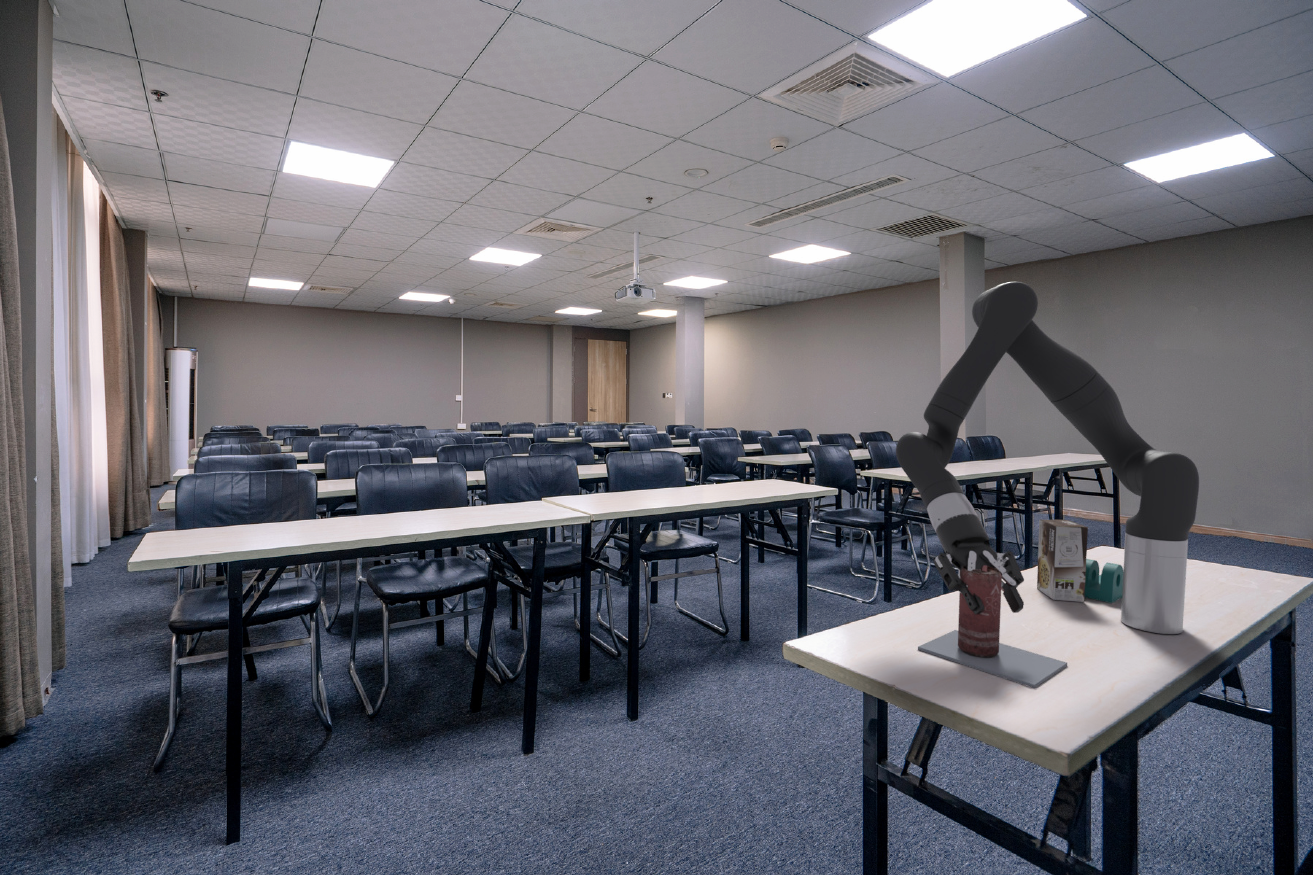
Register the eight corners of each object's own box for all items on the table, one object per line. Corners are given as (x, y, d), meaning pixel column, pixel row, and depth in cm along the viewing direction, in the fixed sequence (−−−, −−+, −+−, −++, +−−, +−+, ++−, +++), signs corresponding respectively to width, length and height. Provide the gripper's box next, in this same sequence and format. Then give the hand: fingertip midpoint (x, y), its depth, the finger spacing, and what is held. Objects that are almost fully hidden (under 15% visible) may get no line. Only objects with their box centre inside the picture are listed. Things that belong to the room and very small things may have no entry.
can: (999, 647, 105) (1002, 566, 104) (998, 661, 100) (1001, 575, 99) (959, 640, 108) (961, 561, 107) (956, 653, 103) (959, 570, 102)
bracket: (1111, 603, 132) (1113, 567, 132) (1075, 595, 137) (1077, 560, 137) (1138, 589, 143) (1140, 555, 143) (1103, 582, 148) (1105, 549, 148)
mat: (954, 632, 114) (955, 629, 114) (1067, 665, 100) (1067, 662, 100) (917, 649, 106) (917, 646, 106) (1034, 688, 92) (1034, 684, 92)
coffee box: (1085, 602, 132) (1089, 527, 131) (1052, 600, 133) (1055, 525, 132) (1066, 590, 141) (1070, 519, 140) (1035, 588, 142) (1038, 518, 141)
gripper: (928, 512, 108) (970, 602, 97) (1003, 511, 110) (1053, 598, 99) (910, 536, 113) (947, 623, 102) (982, 535, 115) (1027, 620, 104)
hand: (999, 610), depth 101 cm, fingers open, 6 cm apart
